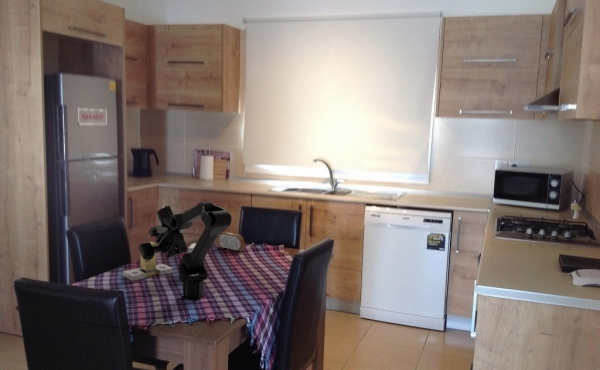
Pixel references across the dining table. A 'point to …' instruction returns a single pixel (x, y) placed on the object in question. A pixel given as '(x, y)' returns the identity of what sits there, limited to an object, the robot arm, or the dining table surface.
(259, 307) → the dining table surface
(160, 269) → the bracket
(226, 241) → the bread slice
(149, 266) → the gold block
